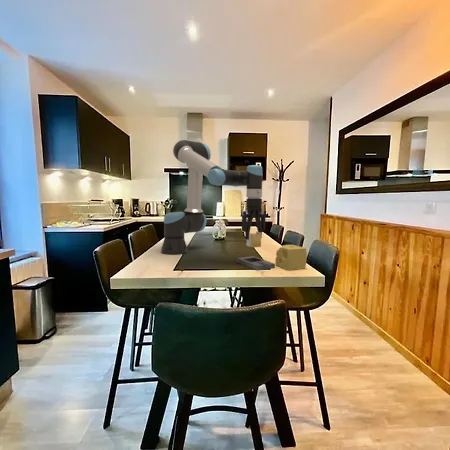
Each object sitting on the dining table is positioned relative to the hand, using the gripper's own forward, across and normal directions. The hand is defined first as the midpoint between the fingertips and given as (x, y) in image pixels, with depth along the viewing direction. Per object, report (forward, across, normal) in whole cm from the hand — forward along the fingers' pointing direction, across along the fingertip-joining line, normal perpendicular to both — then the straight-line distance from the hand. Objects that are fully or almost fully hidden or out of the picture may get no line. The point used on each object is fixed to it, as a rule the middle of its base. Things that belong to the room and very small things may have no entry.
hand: (253, 245), depth 137 cm
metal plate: (+9, 0, -2) cm, 10 cm away
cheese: (+10, +13, -13) cm, 21 cm away
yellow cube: (0, 0, 0) cm, 1 cm away
